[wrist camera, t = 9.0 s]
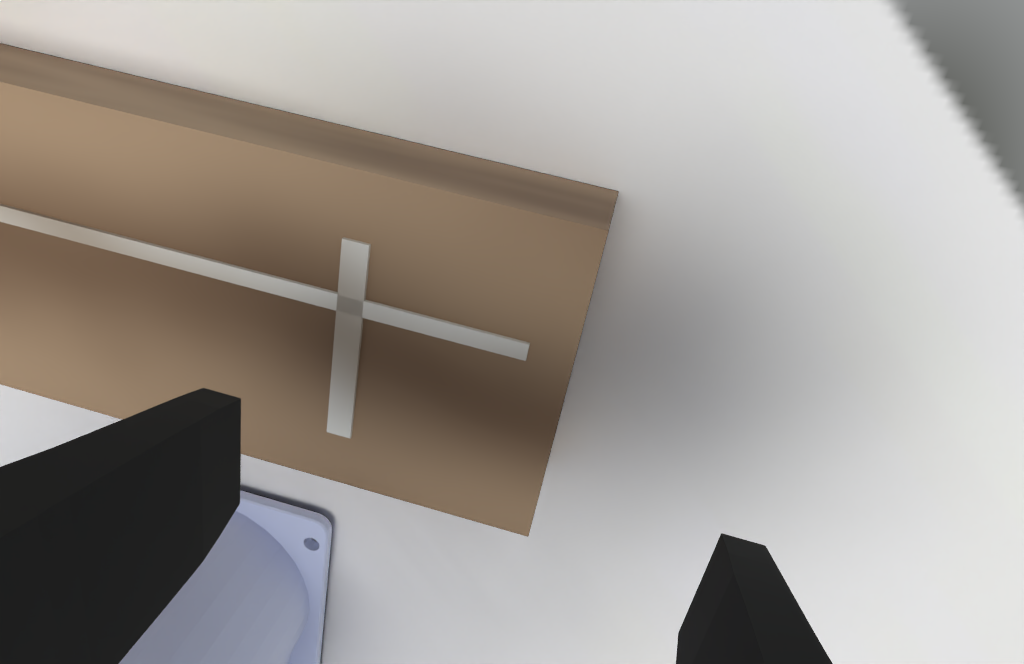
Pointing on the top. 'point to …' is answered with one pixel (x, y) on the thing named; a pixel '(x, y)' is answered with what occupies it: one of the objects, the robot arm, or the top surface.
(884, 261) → the top surface
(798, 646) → the robot arm
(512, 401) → the walnut plank
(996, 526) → the top surface
